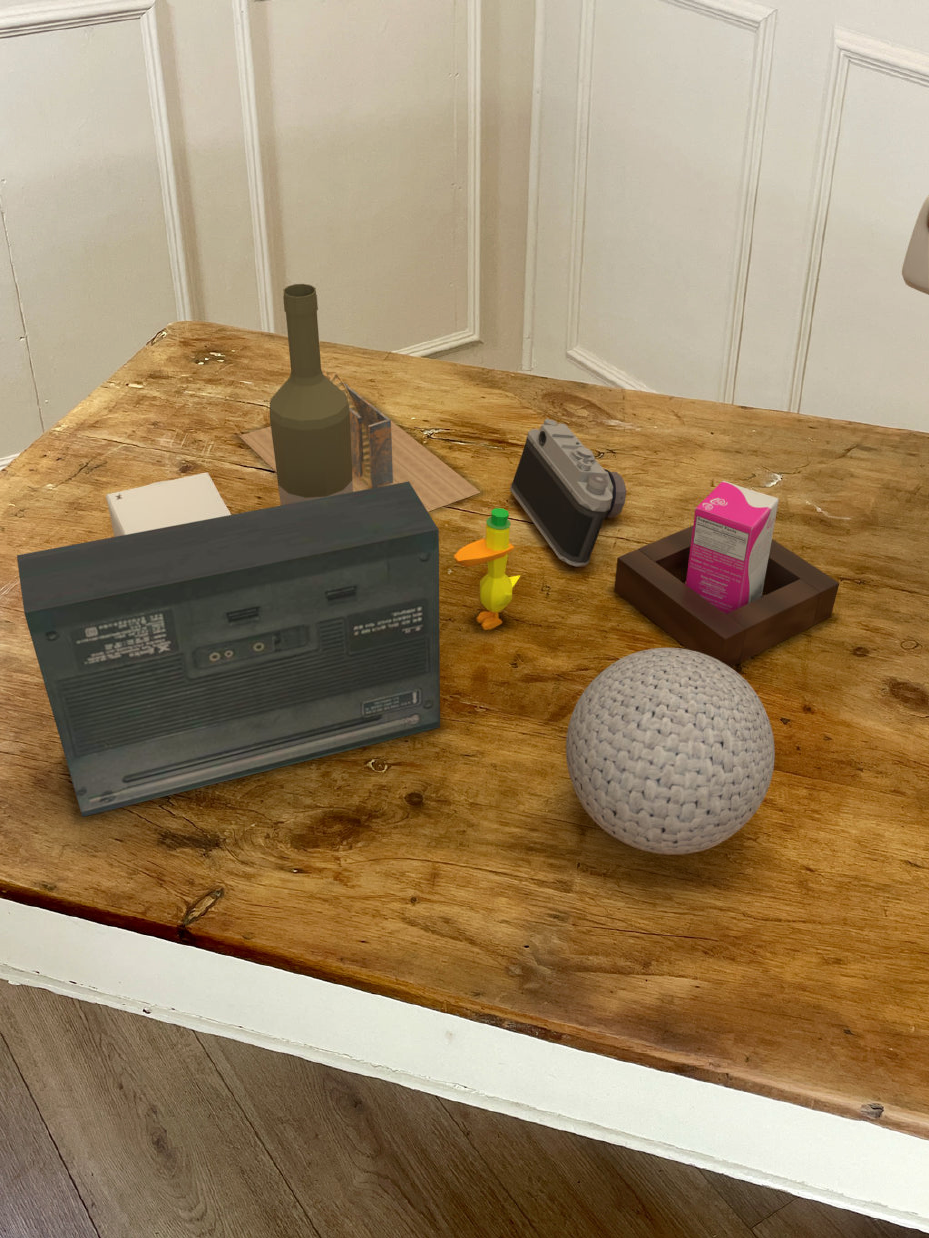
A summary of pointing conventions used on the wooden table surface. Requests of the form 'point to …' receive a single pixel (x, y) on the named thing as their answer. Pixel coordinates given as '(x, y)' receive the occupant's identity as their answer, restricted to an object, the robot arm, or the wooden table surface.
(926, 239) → the robot arm
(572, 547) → the camera
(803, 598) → the wooden frame
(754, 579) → the supplement box
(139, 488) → the white product box
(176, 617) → the cassette player
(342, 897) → the wooden table surface
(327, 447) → the bottle
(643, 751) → the decorative ball
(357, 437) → the architectural model on board
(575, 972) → the wooden table surface
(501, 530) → the toy figure
